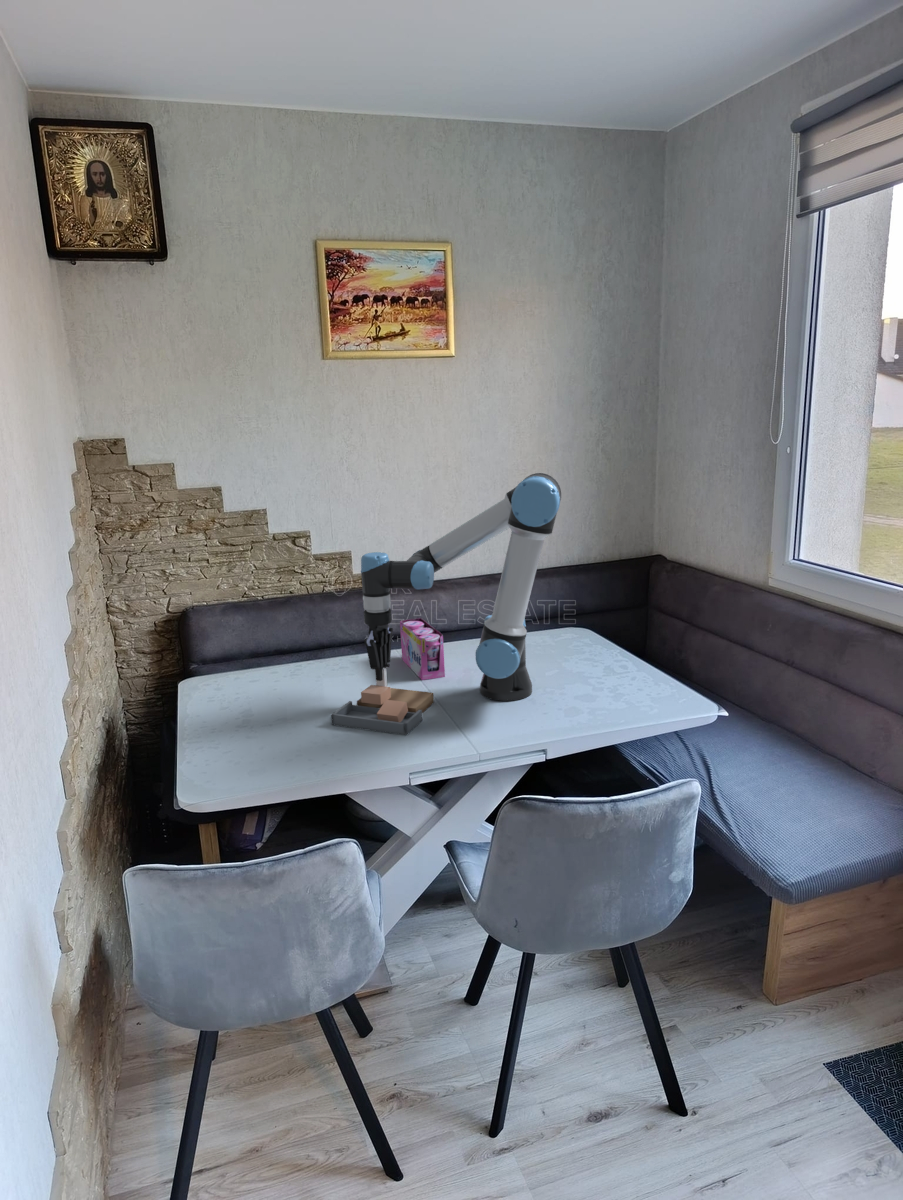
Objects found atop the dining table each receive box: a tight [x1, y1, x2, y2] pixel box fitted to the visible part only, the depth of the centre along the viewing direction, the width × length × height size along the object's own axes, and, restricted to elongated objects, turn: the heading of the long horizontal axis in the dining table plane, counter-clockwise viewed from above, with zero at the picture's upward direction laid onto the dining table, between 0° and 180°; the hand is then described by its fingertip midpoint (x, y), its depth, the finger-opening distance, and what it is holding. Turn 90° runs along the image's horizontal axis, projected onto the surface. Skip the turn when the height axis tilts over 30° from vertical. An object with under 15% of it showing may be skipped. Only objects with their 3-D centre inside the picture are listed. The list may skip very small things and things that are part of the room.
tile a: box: [377, 700, 408, 722], centre depth 205 cm, size 6×6×3 cm
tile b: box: [360, 684, 391, 705], centre depth 213 cm, size 6×6×3 cm
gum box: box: [399, 617, 446, 681], centre depth 245 cm, size 24×8×14 cm, turn 20°
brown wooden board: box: [356, 687, 435, 714], centre depth 216 cm, size 18×12×3 cm, turn 68°
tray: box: [330, 700, 423, 736], centre depth 205 cm, size 22×10×3 cm, turn 68°
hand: (381, 689), depth 217 cm, fingers closed
